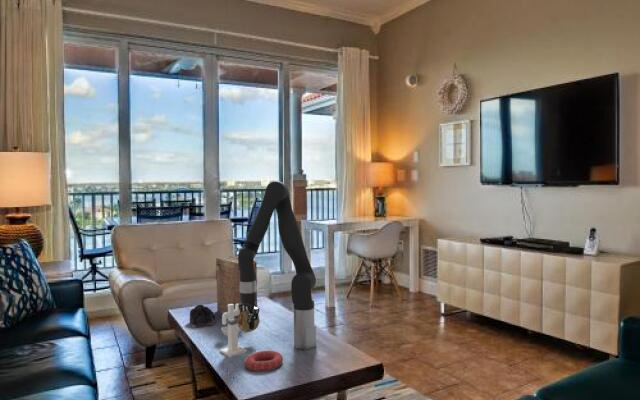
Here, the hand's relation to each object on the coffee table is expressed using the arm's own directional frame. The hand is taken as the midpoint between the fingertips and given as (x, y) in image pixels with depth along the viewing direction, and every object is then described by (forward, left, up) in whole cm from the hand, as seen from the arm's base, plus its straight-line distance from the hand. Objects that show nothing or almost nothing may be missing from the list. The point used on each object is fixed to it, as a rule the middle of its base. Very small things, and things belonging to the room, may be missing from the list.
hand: (249, 327), depth 212 cm
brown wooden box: (+43, -21, -7) cm, 49 cm away
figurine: (+15, 0, -7) cm, 17 cm away
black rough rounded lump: (+41, +1, -8) cm, 42 cm away
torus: (-24, +9, -8) cm, 26 cm away
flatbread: (0, 0, -2) cm, 2 cm away
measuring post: (-4, +11, -7) cm, 14 cm away
